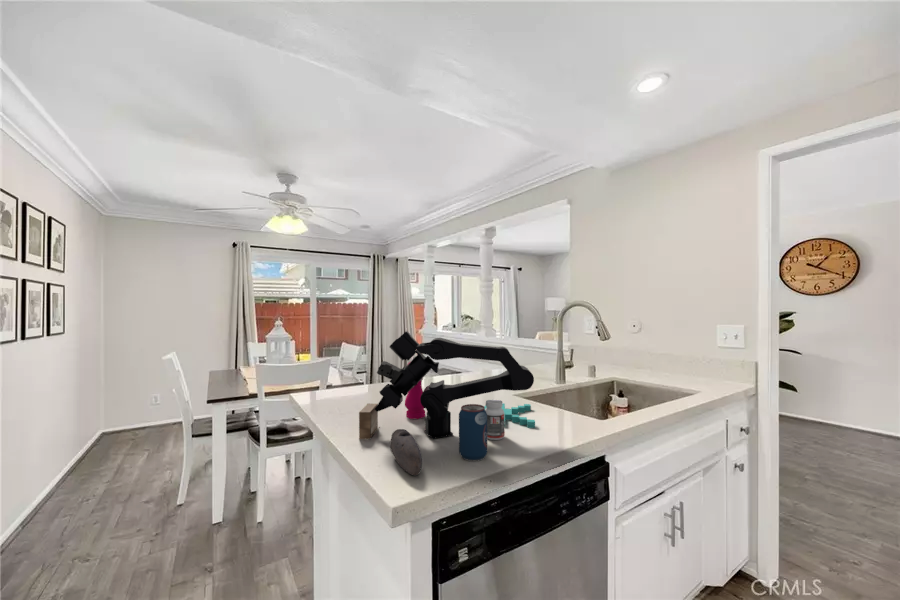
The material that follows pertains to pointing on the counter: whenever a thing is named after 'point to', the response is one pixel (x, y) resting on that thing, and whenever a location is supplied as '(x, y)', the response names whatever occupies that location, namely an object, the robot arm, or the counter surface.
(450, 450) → the counter surface
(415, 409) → the pepper mill
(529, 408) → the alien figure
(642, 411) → the counter surface
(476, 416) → the soda can
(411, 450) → the perforated stone tool
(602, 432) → the counter surface
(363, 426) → the walnut block
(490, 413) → the pill bottle
